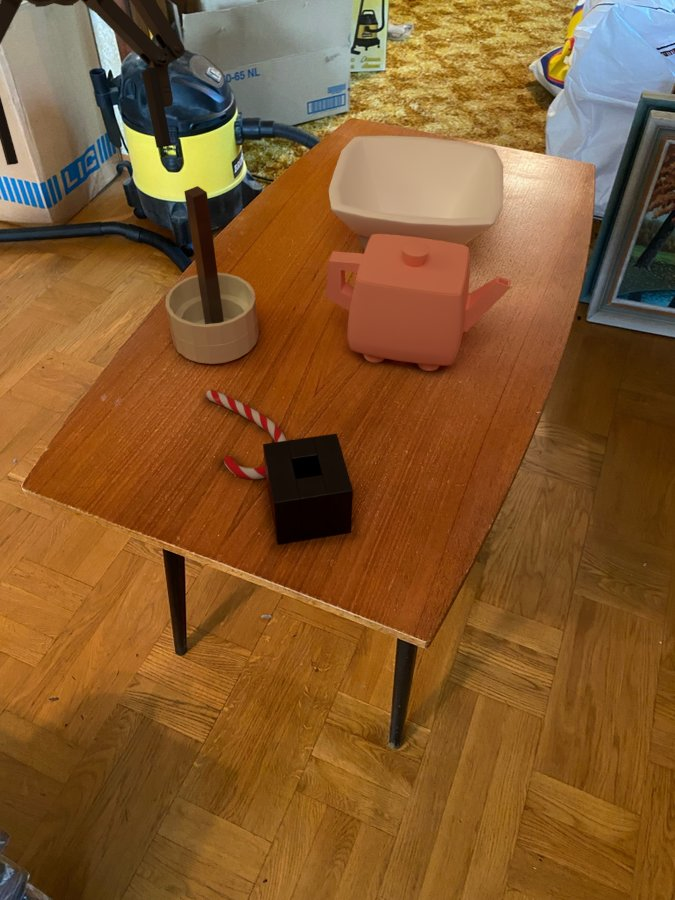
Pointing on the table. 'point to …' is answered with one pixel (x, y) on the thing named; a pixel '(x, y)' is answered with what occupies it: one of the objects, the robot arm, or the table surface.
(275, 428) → the candy cane
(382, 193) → the bowl
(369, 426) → the table surface
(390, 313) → the teapot
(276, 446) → the stick stand
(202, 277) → the stick
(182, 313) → the mixing bowl
